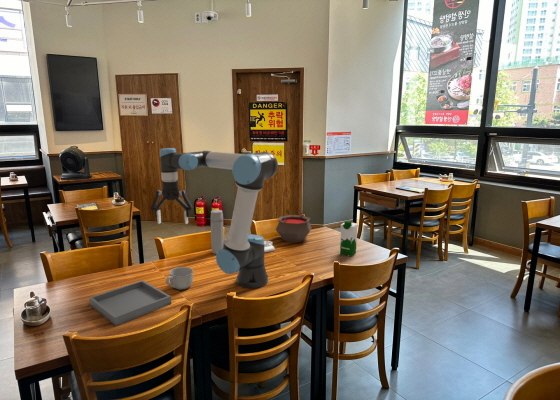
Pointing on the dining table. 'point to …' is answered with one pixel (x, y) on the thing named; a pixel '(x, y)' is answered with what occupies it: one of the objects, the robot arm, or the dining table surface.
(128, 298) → the tray
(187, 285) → the teacup
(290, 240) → the cooking pot
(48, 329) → the dining table surface
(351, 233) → the milk carton
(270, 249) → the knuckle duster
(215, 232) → the water bottle
